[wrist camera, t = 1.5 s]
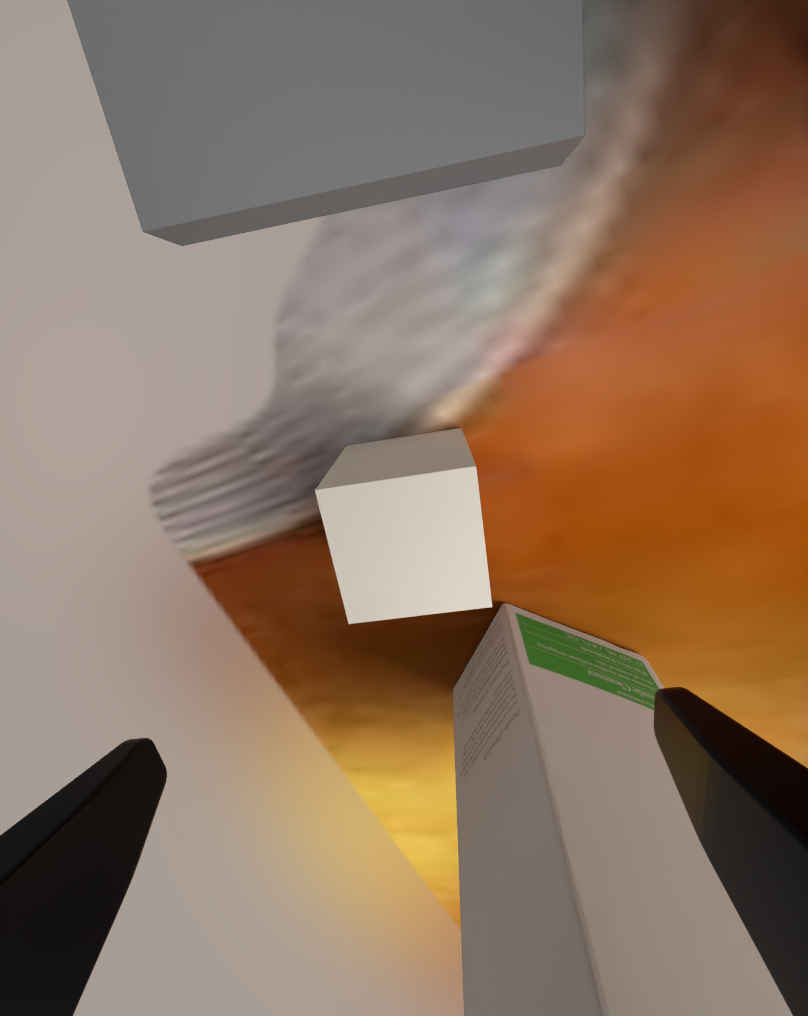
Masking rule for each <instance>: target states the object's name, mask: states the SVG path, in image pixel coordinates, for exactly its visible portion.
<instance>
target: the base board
mask: <svg viewBox="0 0 808 1016" xmlns="http://www.w3.org/2000/svg"><path fill="white" fill-rule="evenodd" d="M67 1H68V3H69V7H70V10H71V13H72V16H73V19H74V22H75V25H76V28H77V31H78V34H79V37H80V40H81V43H82V46H83V50H84V53H85V55H86V59H87V62H88V65H89V68H90V71H91V74H92V77H93V80H94V83H95V86H96V89H97V92H98V95H99V99H100V102H101V105H102V108H103V111H104V114H105V117H106V120H107V123H108V126H109V129H110V132H111V135H112V138H113V141H114V144H115V147H116V151H117V153H118V157H119V160H120V163H121V166H122V169H123V172H124V175H125V178H126V181H127V184H128V187H129V190H130V193H131V196H132V199H133V202H134V206H135V208H136V211H137V215H138V218H139V221H140V224H141V227H142V230H143V232H145V233H148V234H151V235H153V236H156V237H159V238H162V239H164V240H167V241H170V242H173V243H175V244H178V245H181V246H184V245H189V244H193V243H198V242H203V241H208V240H212V239H217V238H222V237H226V236H231V235H236V234H240V233H245V232H250V231H254V230H259V229H263V228H268V227H273V226H277V225H283V224H287V223H291V222H296V221H301V220H306V219H311V218H315V217H320V216H325V215H329V214H334V213H339V212H343V211H348V210H353V209H358V208H362V207H367V206H372V205H376V204H381V203H386V202H390V201H395V200H400V199H404V198H409V197H414V196H418V195H423V194H428V193H433V192H437V191H442V190H447V189H451V188H456V187H461V186H465V185H470V184H475V183H479V182H484V181H489V180H493V179H498V178H503V177H508V176H512V175H517V174H522V173H526V172H531V171H536V170H540V169H545V168H550V167H554V166H559V165H561V164H562V163H563V162H564V161H565V159H566V158H567V157H568V156H569V154H570V153H571V152H572V151H573V149H574V148H575V147H576V146H577V144H578V143H579V142H580V141H581V139H582V138H583V137H584V136H585V113H584V64H583V16H582V0H67Z"/></svg>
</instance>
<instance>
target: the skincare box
mask: <svg viewBox="0 0 808 1016" xmlns="http://www.w3.org/2000/svg"><path fill="white" fill-rule="evenodd" d="M663 688H664V687H663V685H662V684H661V682H660V681H659V679H658V677H657V675H656V674H655V672H654V671H653V669H652V667H651V666H650V664H649V663H648V661H647V660H646V658H644V657H643V656H641V655H640V654H637V653H634V652H632V651H629V650H626V649H623V648H620V647H618V646H615V645H613V644H611V643H609V642H606V641H604V640H602V639H599V638H596V637H593V636H591V635H588V634H585V633H583V632H580V631H577V630H575V629H572V628H569V627H567V626H564V625H561V624H559V623H556V622H554V621H551V620H548V619H546V618H543V617H541V616H538V615H536V614H533V613H531V612H528V611H526V610H523V609H521V608H518V607H516V606H513V605H511V604H508V603H503V604H502V605H501V607H500V609H499V611H498V612H497V614H496V616H495V617H494V619H493V621H492V623H491V624H490V626H489V628H488V630H487V631H486V633H485V635H484V637H483V638H482V640H481V642H480V644H479V645H478V647H477V649H476V651H475V652H474V654H473V656H472V658H471V659H470V661H469V663H468V664H467V666H466V668H465V670H464V671H463V673H462V675H461V676H460V678H459V680H458V682H457V683H456V685H455V686H454V688H453V713H454V742H455V772H456V800H457V828H458V855H459V884H460V912H461V939H462V966H463V967H462V968H463V998H464V1016H793V1015H792V1013H791V1011H790V1009H789V1008H788V1006H787V1004H786V1002H785V1000H784V998H783V996H782V995H781V993H780V991H779V989H778V987H777V985H776V983H775V982H774V980H773V978H772V976H771V974H770V972H769V970H768V969H767V967H766V965H765V963H764V961H763V959H762V957H761V956H760V954H759V952H758V950H757V948H756V946H755V944H754V943H753V941H752V939H751V937H750V935H749V933H748V931H747V929H746V928H745V926H744V924H743V922H742V920H741V918H740V916H739V915H738V913H737V911H736V909H735V907H734V905H733V903H732V902H731V900H730V898H729V896H728V894H727V892H726V890H725V889H724V887H723V885H722V883H721V881H720V879H719V877H718V876H717V874H716V872H715V870H714V868H713V866H712V864H711V862H710V861H709V859H708V857H707V855H706V853H705V851H704V849H703V847H702V845H701V843H700V841H699V838H698V836H697V834H696V832H695V829H694V827H693V825H692V823H691V820H690V818H689V816H688V813H687V811H686V808H685V806H684V804H683V801H682V799H681V797H680V794H679V792H678V790H677V787H676V785H675V783H674V780H673V778H672V775H671V773H670V771H669V768H668V766H667V764H666V761H665V759H664V757H663V754H662V752H661V749H660V747H659V745H658V742H657V740H656V737H655V733H654V699H655V693H656V691H657V690H658V689H663Z"/></svg>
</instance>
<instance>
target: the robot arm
mask: <svg viewBox="0 0 808 1016" xmlns="http://www.w3.org/2000/svg"><path fill="white" fill-rule="evenodd" d="M654 733H655V737H656V740H657V742H658V745H659V747H660V749H661V752H662V754H663V757H664V759H665V761H666V764H667V766H668V768H669V771H670V773H671V775H672V778H673V780H674V783H675V785H676V787H677V790H678V792H679V794H680V797H681V799H682V801H683V804H684V806H685V808H686V811H687V813H688V816H689V818H690V820H691V823H692V825H693V827H694V829H695V832H696V834H697V836H698V838H699V841H700V843H701V845H702V847H703V849H704V851H705V853H706V855H707V857H708V859H709V861H710V862H711V864H712V866H713V868H714V870H715V872H716V874H717V876H718V877H719V879H720V881H721V883H722V885H723V887H724V889H725V890H726V892H727V894H728V896H729V898H730V900H731V902H732V903H733V905H734V907H735V909H736V911H737V913H738V915H739V916H740V918H741V920H742V922H743V924H744V926H745V928H746V929H747V931H748V933H749V935H750V937H751V939H752V941H753V943H754V944H755V946H756V948H757V950H758V952H759V954H760V956H761V957H762V959H763V961H764V963H765V965H766V967H767V969H768V970H769V972H770V974H771V976H772V978H773V980H774V982H775V983H776V985H777V987H778V989H779V991H780V993H781V995H782V996H783V998H784V1000H785V1002H786V1004H787V1006H788V1008H789V1009H790V1011H791V1013H792V1015H793V1016H808V768H806V767H805V766H803V765H802V764H800V763H799V762H797V761H796V760H794V759H793V758H791V757H790V756H788V755H787V754H785V753H784V752H782V751H781V750H779V749H777V748H776V747H774V746H773V745H771V744H770V743H768V742H767V741H765V740H764V739H762V738H761V737H759V736H758V735H756V734H755V733H753V732H751V731H750V730H748V729H747V728H745V727H744V726H742V725H741V724H739V723H738V722H736V721H735V720H733V719H732V718H730V717H729V716H727V715H725V714H724V713H722V712H721V711H719V710H718V709H716V708H715V707H713V706H712V705H710V704H709V703H707V702H706V701H704V700H703V699H701V698H700V697H698V696H696V695H695V694H693V693H692V692H690V691H689V690H687V689H685V688H682V687H673V688H663V689H658V690H657V691H656V693H655V699H654ZM166 778H167V771H166V767H165V765H164V763H163V761H162V759H161V757H160V755H159V753H158V751H157V749H156V747H155V745H154V743H153V741H152V740H150V739H149V738H139V739H130V740H127V741H125V742H123V743H121V744H120V745H119V746H118V747H116V748H115V749H114V750H112V751H111V752H110V753H108V754H107V755H106V756H104V757H103V758H102V759H100V760H99V761H98V762H96V763H95V764H94V765H92V766H91V767H90V768H89V769H87V770H86V771H85V772H83V773H82V774H81V775H79V776H78V777H77V778H75V779H74V780H73V781H71V782H70V783H69V784H67V785H66V786H65V787H63V788H62V789H61V790H60V791H58V792H57V793H56V794H54V795H53V796H52V797H51V798H49V799H48V800H46V801H45V802H44V803H42V804H41V805H40V806H38V807H37V808H36V809H35V810H33V811H32V812H31V813H29V814H28V815H27V816H25V817H24V818H23V819H21V820H20V821H19V822H17V823H16V824H15V825H13V826H12V827H11V828H10V829H8V830H7V831H6V832H4V833H3V834H2V835H0V1016H73V1014H74V1012H75V1009H76V1007H77V1005H78V1003H79V1000H80V998H81V996H82V993H83V991H84V989H85V987H86V984H87V982H88V980H89V977H90V975H91V973H92V971H93V968H94V966H95V963H96V961H97V959H98V957H99V954H100V952H101V950H102V948H103V945H104V943H105V941H106V938H107V936H108V934H109V932H110V929H111V927H112V925H113V922H114V920H115V918H116V915H117V913H118V911H119V908H120V906H121V904H122V902H123V899H124V897H125V895H126V892H127V890H128V888H129V885H130V883H131V880H132V878H133V875H134V872H135V870H136V867H137V864H138V862H139V859H140V856H141V853H142V850H143V847H144V844H145V841H146V838H147V836H148V833H149V830H150V827H151V824H152V821H153V818H154V815H155V812H156V809H157V807H158V804H159V800H160V798H161V795H162V792H163V789H164V786H165V783H166Z"/></svg>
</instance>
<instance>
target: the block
mask: <svg viewBox="0 0 808 1016" xmlns="http://www.w3.org/2000/svg"><path fill="white" fill-rule="evenodd" d="M315 493H316V497H317V501H318V505H319V509H320V513H321V517H322V520H323V524H324V528H325V532H326V536H327V540H328V544H329V548H330V552H331V556H332V560H333V564H334V568H335V572H336V576H337V580H338V584H339V588H340V592H341V596H342V600H343V604H344V608H345V612H346V616H347V619H348V623H349V624H353V623H362V622H370V621H379V620H387V619H396V618H404V617H413V616H421V615H430V614H438V613H447V612H455V611H464V610H472V609H481V608H489V607H492V600H491V591H490V583H489V574H488V565H487V557H486V548H485V539H484V531H483V522H482V513H481V505H480V496H479V487H478V479H477V470H476V465H475V462H474V460H473V457H472V455H471V452H470V449H469V447H468V444H467V442H466V439H465V437H464V434H463V432H462V429H461V428H456V429H449V430H443V431H437V432H431V433H424V434H418V435H412V436H405V437H399V438H393V439H386V440H380V441H374V442H367V443H361V444H355V445H348V446H346V447H345V448H344V450H343V451H342V452H341V454H340V455H339V457H338V458H337V460H336V461H335V462H334V464H333V465H332V467H331V468H330V469H329V471H328V472H327V474H326V475H325V477H324V478H323V479H322V481H321V482H320V484H319V485H318V486H317V488H316V489H315Z"/></svg>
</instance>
